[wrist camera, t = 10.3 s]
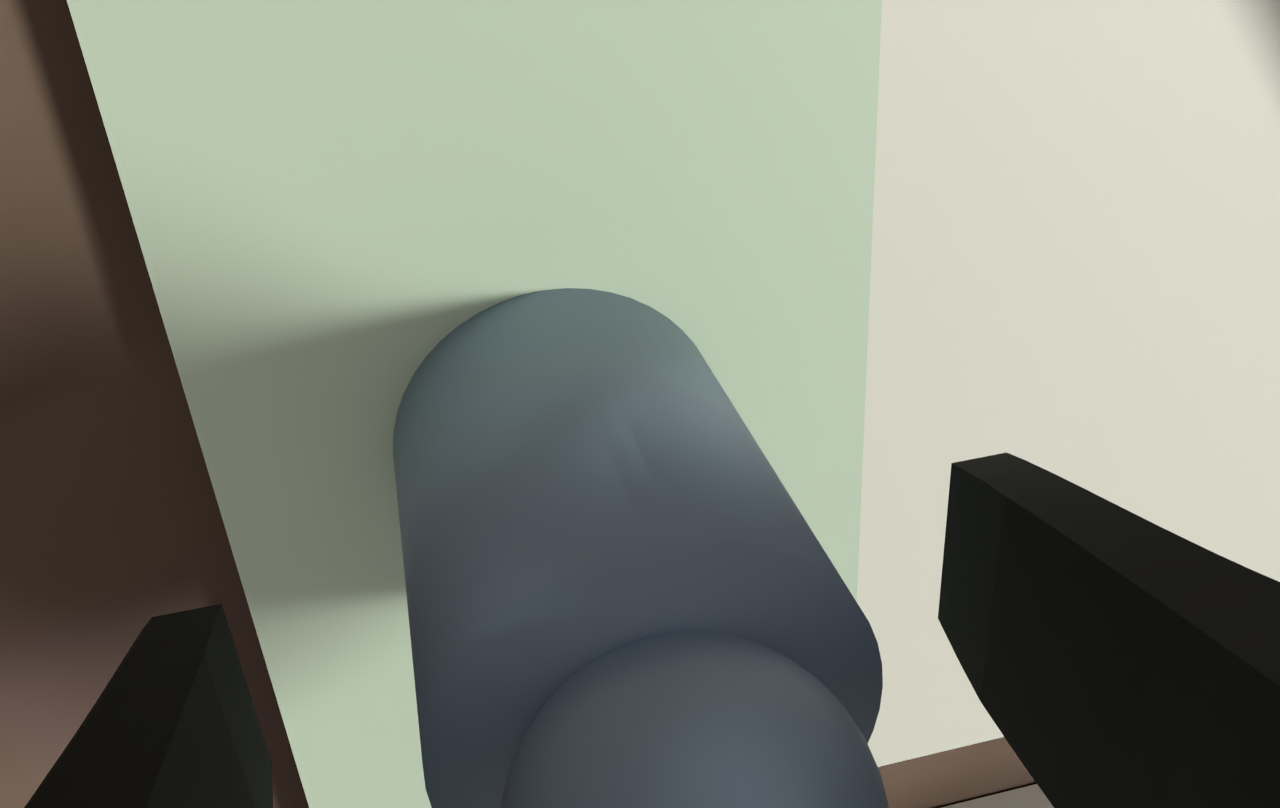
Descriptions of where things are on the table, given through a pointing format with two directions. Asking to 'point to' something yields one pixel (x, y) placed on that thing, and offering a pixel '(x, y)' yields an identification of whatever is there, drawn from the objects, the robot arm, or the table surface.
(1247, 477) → the pale green flat slab
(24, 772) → the table surface
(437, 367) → the pawn
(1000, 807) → the dome housing
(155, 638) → the robot arm
